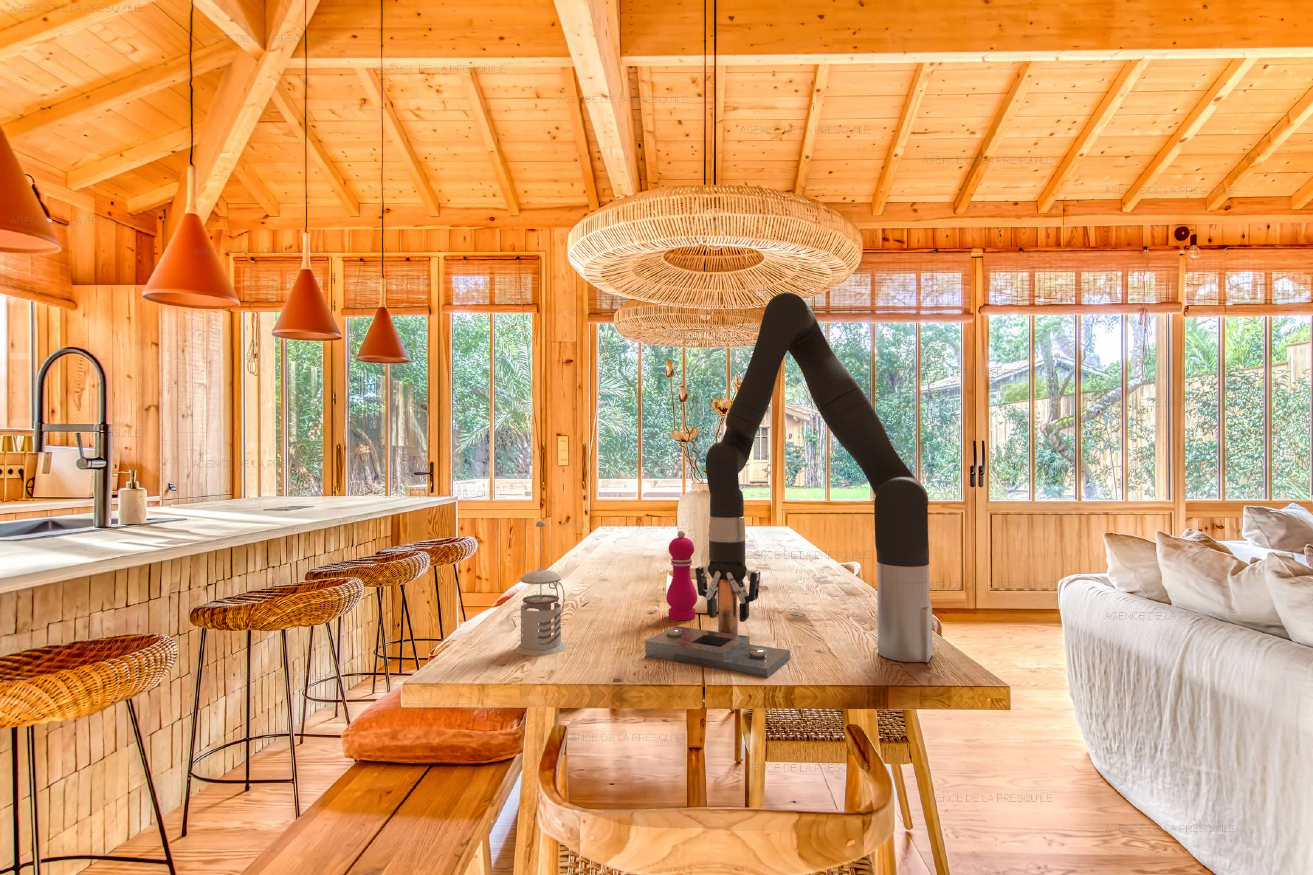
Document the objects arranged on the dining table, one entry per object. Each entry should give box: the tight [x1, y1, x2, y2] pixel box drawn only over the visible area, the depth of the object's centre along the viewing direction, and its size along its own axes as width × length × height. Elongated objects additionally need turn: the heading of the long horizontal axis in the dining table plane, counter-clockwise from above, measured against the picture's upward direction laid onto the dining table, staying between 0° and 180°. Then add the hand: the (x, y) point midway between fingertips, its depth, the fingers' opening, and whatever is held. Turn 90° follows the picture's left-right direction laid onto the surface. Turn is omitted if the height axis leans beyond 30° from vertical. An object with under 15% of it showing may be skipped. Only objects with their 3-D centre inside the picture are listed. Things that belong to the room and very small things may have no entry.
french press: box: [515, 520, 567, 657], centre depth 131 cm, size 10×12×25 cm
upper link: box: [644, 625, 751, 663], centre depth 125 cm, size 16×12×4 cm
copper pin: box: [717, 579, 739, 635], centre depth 137 cm, size 4×4×12 cm
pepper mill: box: [665, 530, 698, 621], centre depth 154 cm, size 7×7×20 cm
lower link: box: [673, 643, 791, 679], centre depth 121 cm, size 18×12×2 cm, turn 60°
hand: (727, 618), depth 137 cm, fingers open, 6 cm apart
